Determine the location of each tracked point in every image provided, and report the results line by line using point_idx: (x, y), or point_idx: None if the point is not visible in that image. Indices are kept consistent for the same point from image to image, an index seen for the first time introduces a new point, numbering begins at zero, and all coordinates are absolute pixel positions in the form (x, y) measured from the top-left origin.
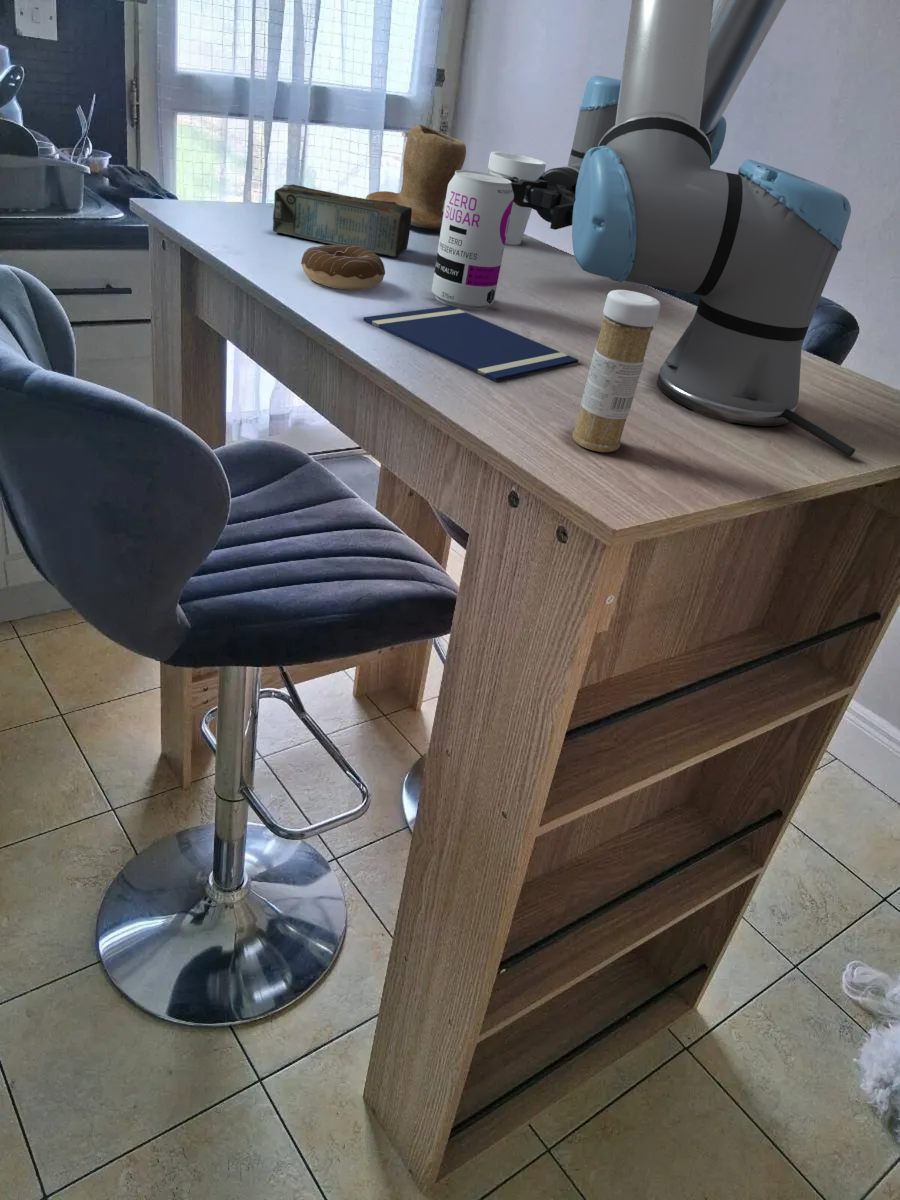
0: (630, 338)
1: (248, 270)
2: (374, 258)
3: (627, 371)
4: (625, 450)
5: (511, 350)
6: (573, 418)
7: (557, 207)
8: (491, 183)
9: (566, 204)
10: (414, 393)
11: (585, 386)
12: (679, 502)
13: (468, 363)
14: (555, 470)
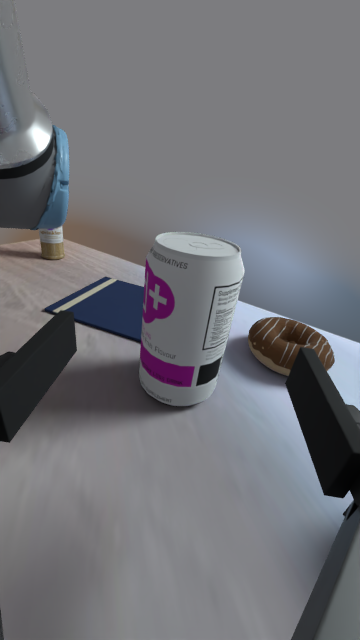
0: None
1: (334, 339)
2: (265, 332)
3: None
4: (38, 256)
5: (101, 302)
6: (61, 266)
7: (66, 312)
8: (173, 233)
9: (32, 350)
10: (138, 265)
11: (62, 232)
12: (25, 243)
13: (124, 282)
14: (73, 247)
